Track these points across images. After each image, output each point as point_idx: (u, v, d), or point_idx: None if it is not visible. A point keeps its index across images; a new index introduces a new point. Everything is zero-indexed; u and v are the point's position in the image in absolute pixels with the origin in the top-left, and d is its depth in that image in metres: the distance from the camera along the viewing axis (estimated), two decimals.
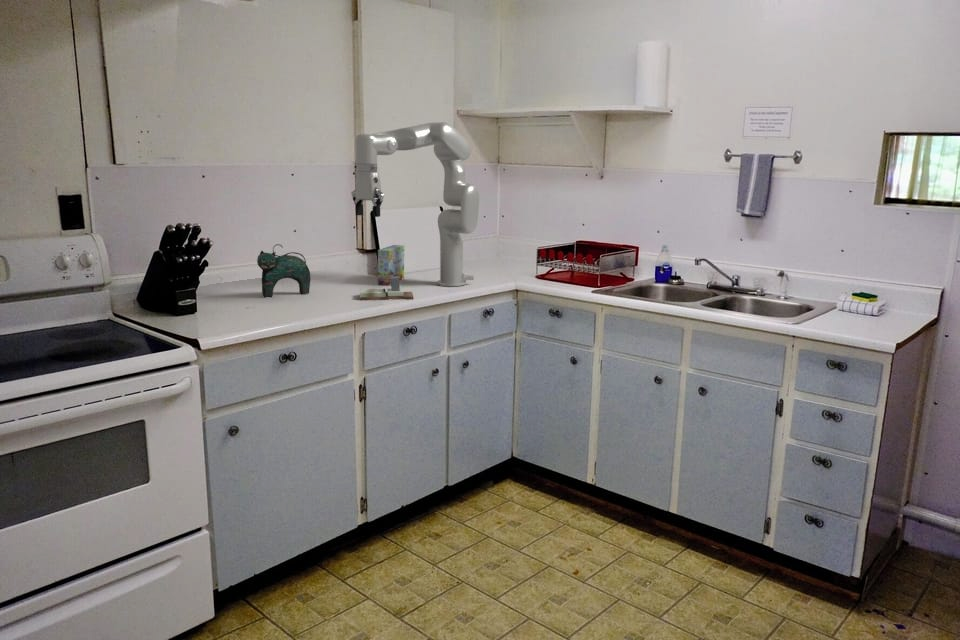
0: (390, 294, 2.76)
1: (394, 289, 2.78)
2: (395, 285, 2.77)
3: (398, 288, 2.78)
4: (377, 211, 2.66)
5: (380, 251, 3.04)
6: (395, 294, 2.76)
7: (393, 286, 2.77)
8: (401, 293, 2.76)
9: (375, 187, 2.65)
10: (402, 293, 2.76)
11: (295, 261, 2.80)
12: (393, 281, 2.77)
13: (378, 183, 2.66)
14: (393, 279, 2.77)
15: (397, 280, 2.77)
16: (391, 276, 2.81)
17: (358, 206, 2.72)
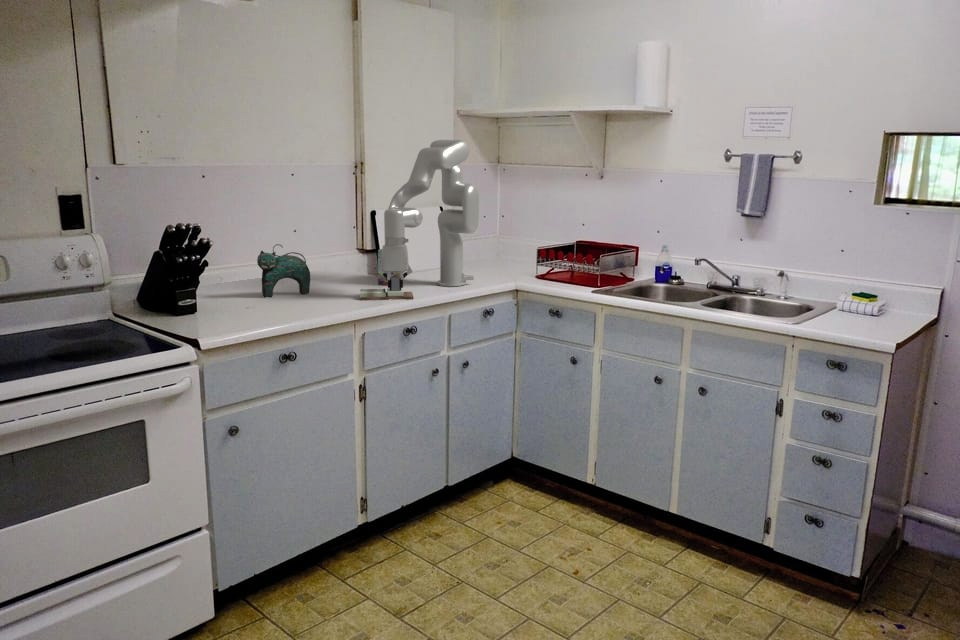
0: (390, 294, 2.76)
1: (394, 289, 2.78)
2: (395, 285, 2.77)
3: (398, 288, 2.78)
4: (402, 284, 2.80)
5: (380, 251, 3.04)
6: (395, 294, 2.76)
7: (393, 286, 2.77)
8: (401, 293, 2.76)
9: None
10: (402, 293, 2.76)
11: (295, 261, 2.80)
12: (393, 281, 2.77)
13: None
14: (393, 279, 2.77)
15: (397, 280, 2.77)
16: (391, 276, 2.81)
17: None
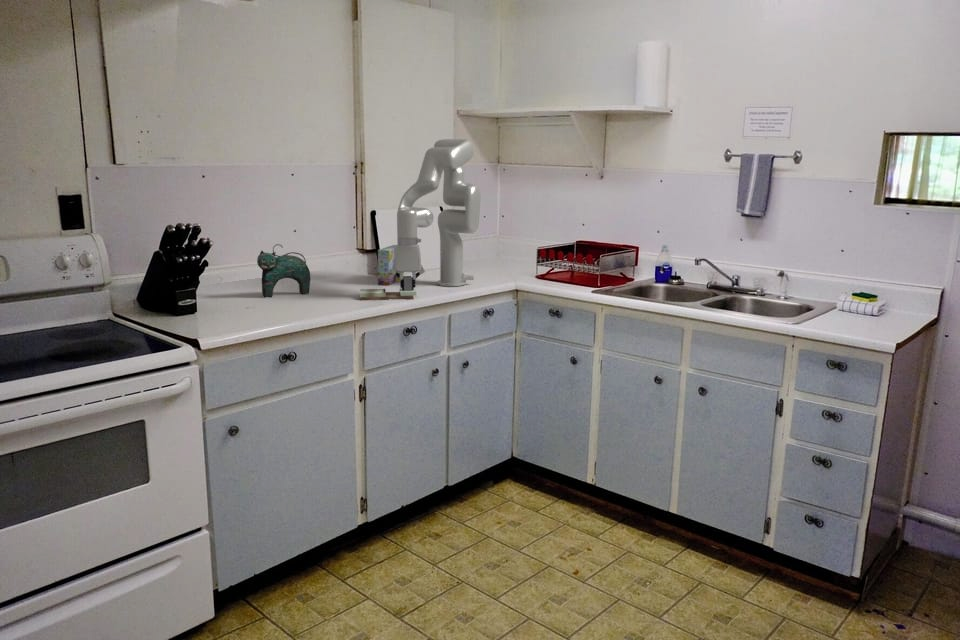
0: (403, 294, 2.76)
1: (407, 289, 2.78)
2: (408, 285, 2.78)
3: (411, 288, 2.78)
4: None
5: (380, 251, 3.04)
6: (408, 294, 2.77)
7: (406, 286, 2.78)
8: (414, 293, 2.77)
9: None
10: (415, 293, 2.77)
11: (295, 261, 2.80)
12: (406, 281, 2.78)
13: None
14: (406, 279, 2.77)
15: (410, 280, 2.78)
16: (403, 276, 2.82)
17: None
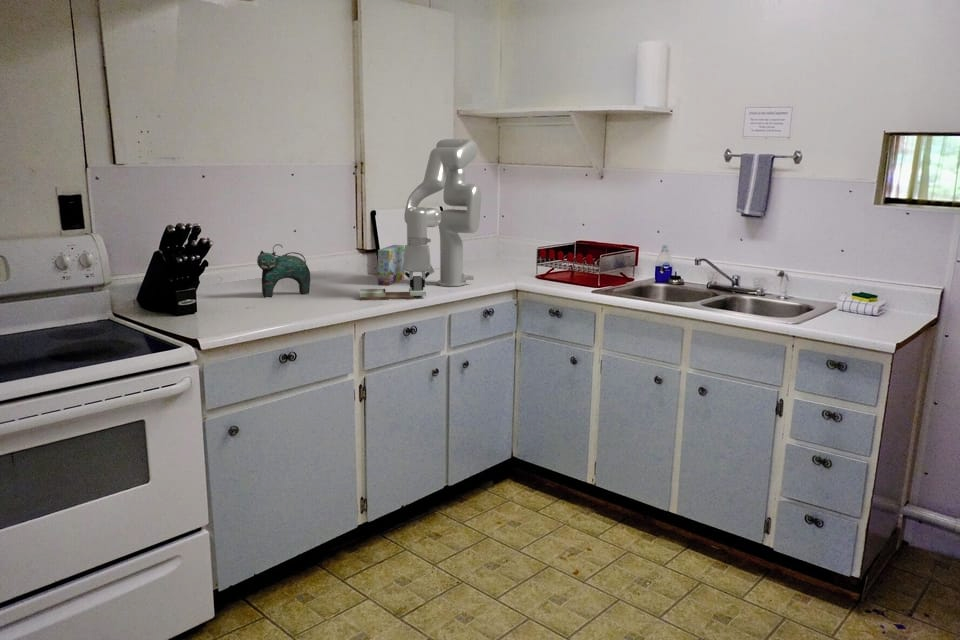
0: (412, 294, 2.77)
1: (416, 289, 2.79)
2: (417, 285, 2.79)
3: (420, 288, 2.79)
4: (424, 284, 2.81)
5: (380, 251, 3.04)
6: (417, 294, 2.77)
7: (415, 286, 2.79)
8: (423, 293, 2.78)
9: None
10: (424, 293, 2.78)
11: (295, 261, 2.80)
12: (415, 281, 2.78)
13: None
14: (415, 279, 2.78)
15: (419, 280, 2.78)
16: (413, 276, 2.82)
17: (413, 281, 2.80)
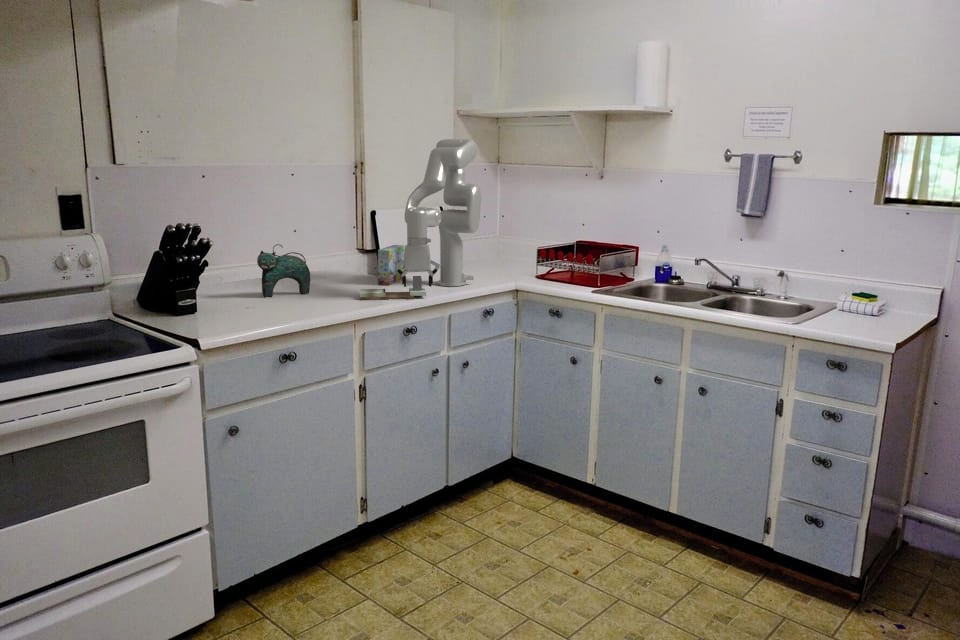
0: (412, 294, 2.77)
1: (416, 289, 2.79)
2: (417, 285, 2.79)
3: (420, 288, 2.79)
4: (432, 281, 2.81)
5: (380, 251, 3.04)
6: (417, 294, 2.77)
7: (415, 286, 2.79)
8: (423, 293, 2.78)
9: None
10: (424, 293, 2.78)
11: (295, 261, 2.80)
12: (415, 281, 2.78)
13: None
14: (415, 279, 2.78)
15: (419, 280, 2.78)
16: (413, 276, 2.82)
17: (405, 278, 2.79)
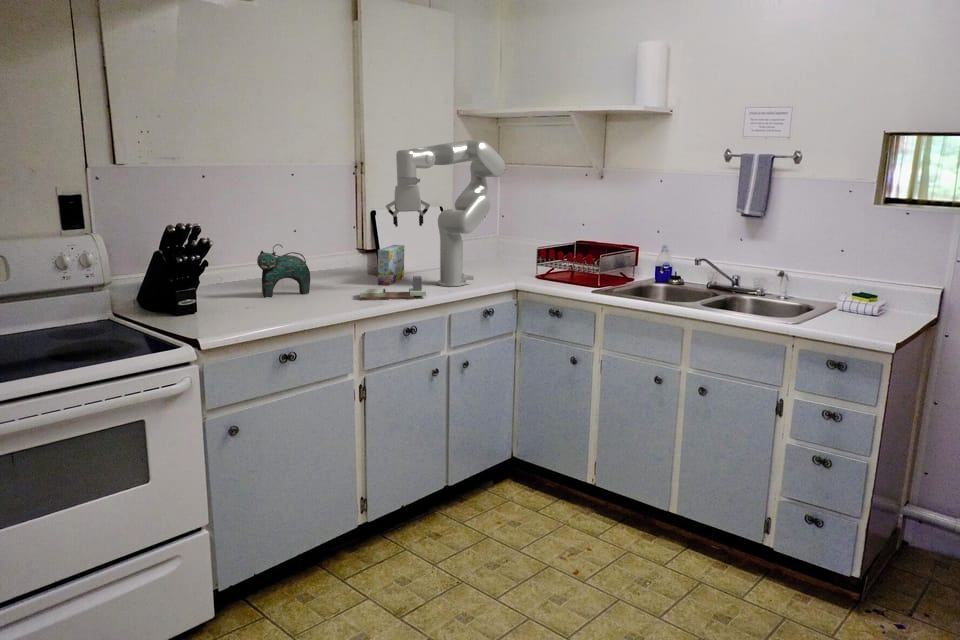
0: (412, 294, 2.77)
1: (416, 289, 2.79)
2: (417, 285, 2.79)
3: (420, 288, 2.79)
4: None
5: (380, 251, 3.04)
6: (417, 294, 2.77)
7: (415, 286, 2.79)
8: (423, 293, 2.78)
9: None
10: (424, 293, 2.78)
11: (295, 261, 2.80)
12: (415, 281, 2.78)
13: None
14: (415, 279, 2.78)
15: (419, 280, 2.78)
16: (413, 276, 2.82)
17: None
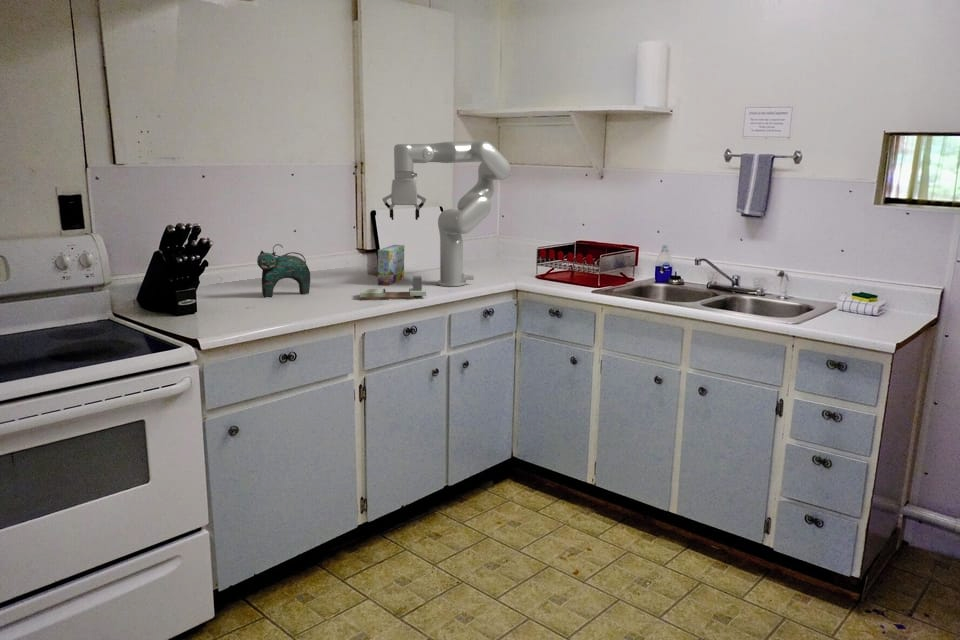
0: (412, 294, 2.77)
1: (416, 289, 2.79)
2: (417, 285, 2.79)
3: (420, 288, 2.79)
4: None
5: (380, 251, 3.04)
6: (417, 294, 2.77)
7: (415, 286, 2.79)
8: (423, 293, 2.78)
9: None
10: (424, 293, 2.78)
11: (295, 261, 2.80)
12: (415, 281, 2.78)
13: None
14: (415, 279, 2.78)
15: (419, 280, 2.78)
16: (413, 276, 2.82)
17: None
